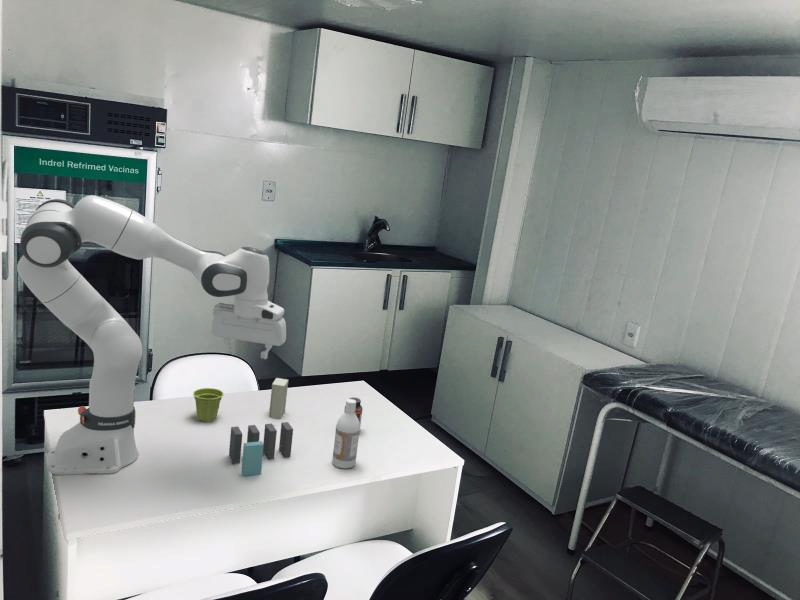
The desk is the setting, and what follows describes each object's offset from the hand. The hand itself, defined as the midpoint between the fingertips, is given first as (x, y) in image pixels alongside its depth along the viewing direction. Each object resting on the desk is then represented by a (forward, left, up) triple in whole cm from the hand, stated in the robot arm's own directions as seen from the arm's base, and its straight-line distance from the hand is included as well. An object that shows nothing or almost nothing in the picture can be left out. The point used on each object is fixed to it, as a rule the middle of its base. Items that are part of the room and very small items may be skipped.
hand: (247, 355), depth 173 cm
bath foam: (+29, -8, -32) cm, 44 cm away
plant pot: (-3, +31, -32) cm, 44 cm away
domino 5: (+14, +2, -32) cm, 35 cm away
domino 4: (+9, +2, -32) cm, 33 cm away
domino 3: (+2, -7, -32) cm, 33 cm away
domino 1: (-1, +2, -32) cm, 32 cm away
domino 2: (+4, +2, -32) cm, 32 cm away
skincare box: (+20, +29, -32) cm, 47 cm away
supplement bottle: (+40, +12, -32) cm, 53 cm away
